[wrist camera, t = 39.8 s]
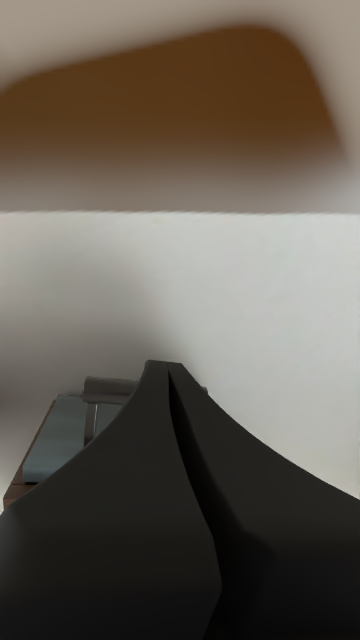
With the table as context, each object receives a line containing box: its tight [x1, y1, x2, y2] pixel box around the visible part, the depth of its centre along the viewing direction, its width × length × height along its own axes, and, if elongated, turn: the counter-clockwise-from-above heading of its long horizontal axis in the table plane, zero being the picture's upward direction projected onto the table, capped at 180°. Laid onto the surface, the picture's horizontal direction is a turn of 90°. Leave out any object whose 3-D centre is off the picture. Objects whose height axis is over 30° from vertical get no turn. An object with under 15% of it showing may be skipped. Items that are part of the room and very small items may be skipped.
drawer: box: [23, 376, 208, 482], centre depth 20 cm, size 17×12×6 cm
